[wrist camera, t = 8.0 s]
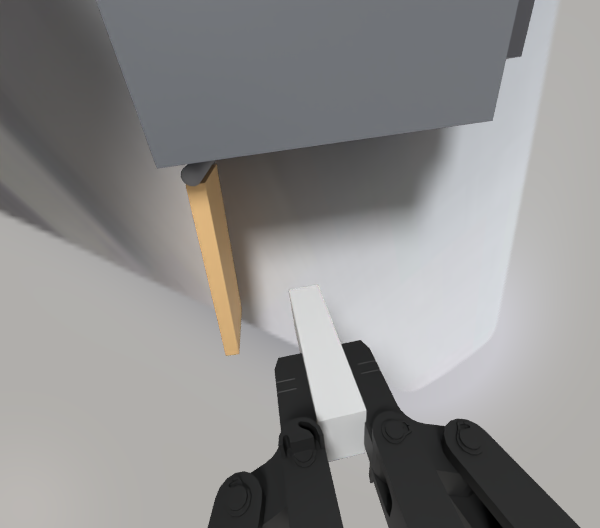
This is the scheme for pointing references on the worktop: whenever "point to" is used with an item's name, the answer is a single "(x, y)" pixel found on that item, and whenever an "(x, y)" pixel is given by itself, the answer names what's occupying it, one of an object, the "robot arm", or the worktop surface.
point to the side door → (215, 248)
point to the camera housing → (307, 69)
